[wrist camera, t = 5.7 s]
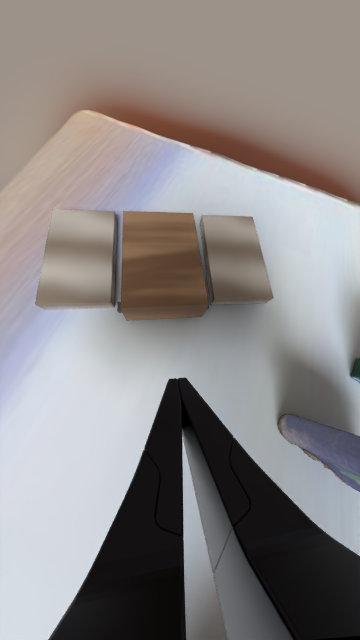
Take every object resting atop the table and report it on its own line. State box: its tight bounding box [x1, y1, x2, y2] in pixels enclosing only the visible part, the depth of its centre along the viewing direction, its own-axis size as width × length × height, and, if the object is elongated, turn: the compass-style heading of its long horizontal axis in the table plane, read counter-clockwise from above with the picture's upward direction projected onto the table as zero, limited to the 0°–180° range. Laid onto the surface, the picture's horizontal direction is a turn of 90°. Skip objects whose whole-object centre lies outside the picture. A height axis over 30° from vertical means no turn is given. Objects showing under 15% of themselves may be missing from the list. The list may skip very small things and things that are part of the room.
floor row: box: [35, 209, 273, 313], centre depth 21 cm, size 13×25×2 cm, turn 94°
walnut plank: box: [121, 211, 209, 320], centre depth 19 cm, size 3×8×12 cm
